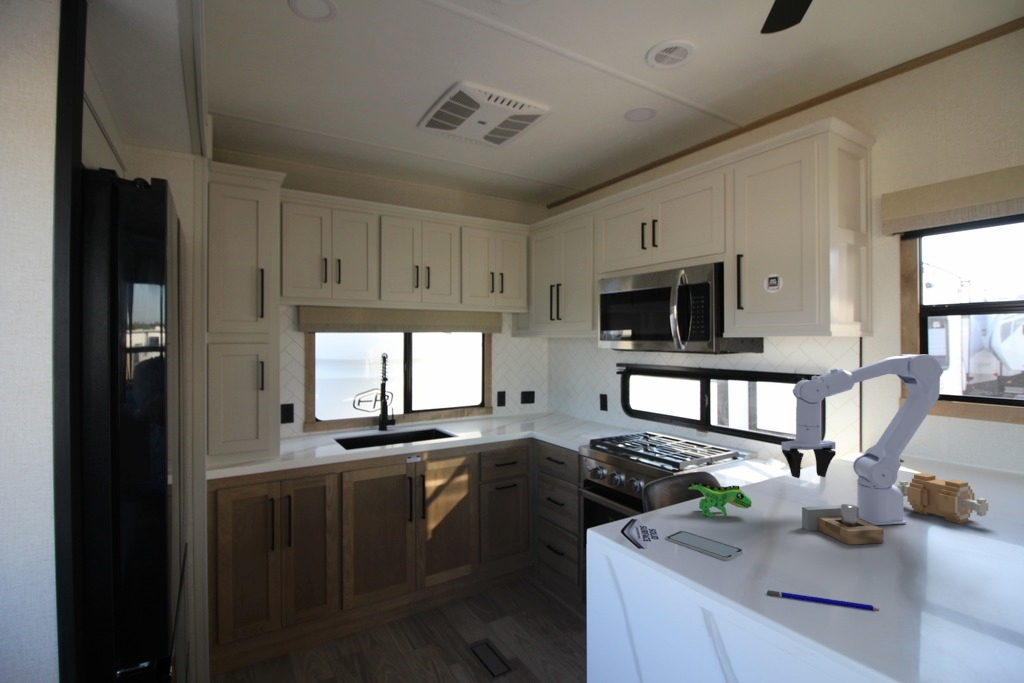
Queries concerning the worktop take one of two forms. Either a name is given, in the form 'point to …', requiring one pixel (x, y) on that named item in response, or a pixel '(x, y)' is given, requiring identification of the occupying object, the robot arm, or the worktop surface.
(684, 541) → the smartphone
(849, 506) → the dowel
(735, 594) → the worktop surface
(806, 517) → the wall
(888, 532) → the worktop surface
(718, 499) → the toy
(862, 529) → the block
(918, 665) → the worktop surface
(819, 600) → the pencil
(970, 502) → the voxel meat on bone
